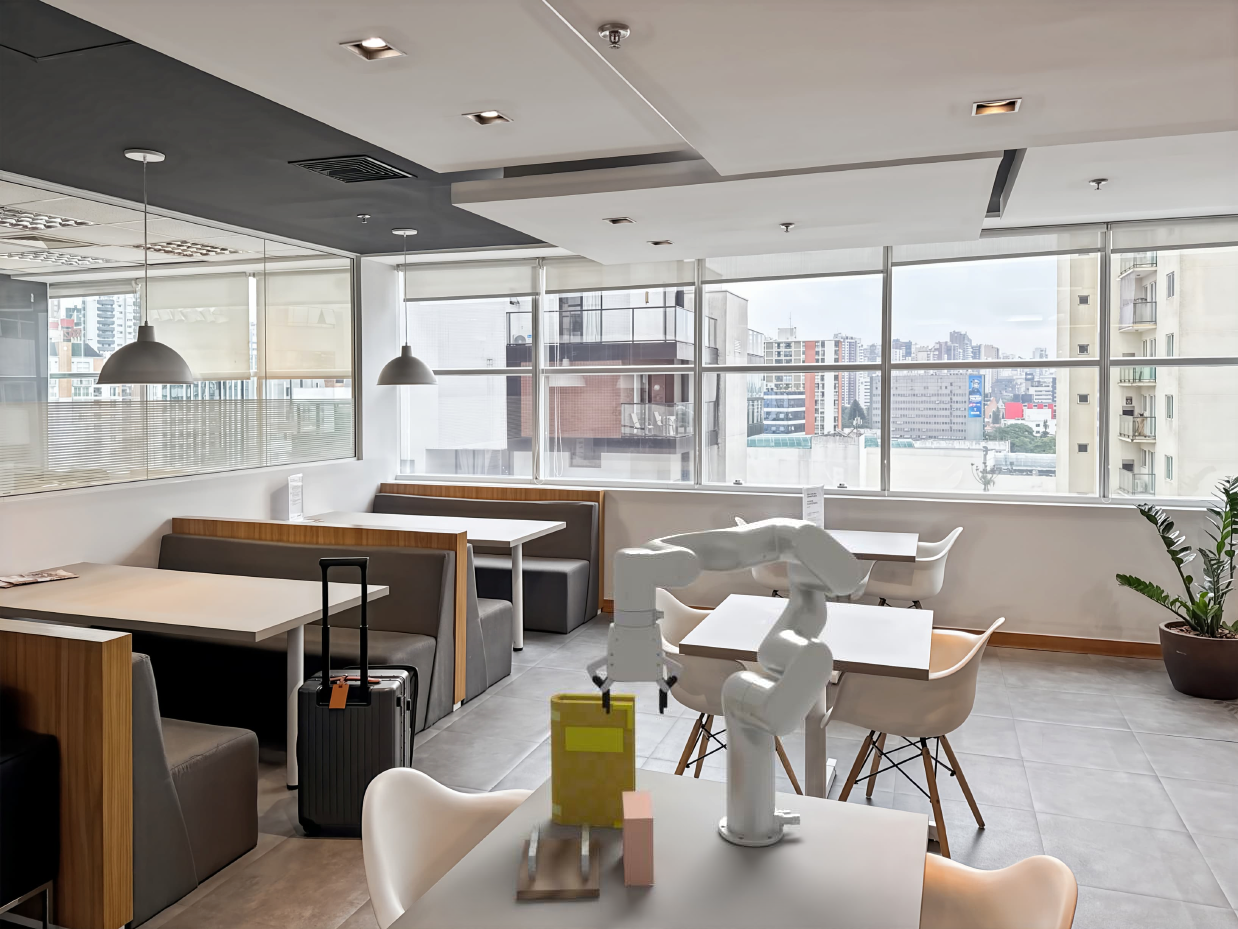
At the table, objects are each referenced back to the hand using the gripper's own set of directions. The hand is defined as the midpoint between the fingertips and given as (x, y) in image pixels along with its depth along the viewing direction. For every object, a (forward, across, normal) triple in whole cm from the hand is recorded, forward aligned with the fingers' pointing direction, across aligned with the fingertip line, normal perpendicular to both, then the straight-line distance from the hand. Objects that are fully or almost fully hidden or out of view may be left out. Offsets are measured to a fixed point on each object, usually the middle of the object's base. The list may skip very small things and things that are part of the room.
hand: (634, 711), depth 154 cm
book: (+29, +8, -19) cm, 36 cm away
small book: (+29, -1, 0) cm, 29 cm away
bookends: (+27, +13, +1) cm, 30 cm away
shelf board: (+29, +13, +1) cm, 32 cm away
